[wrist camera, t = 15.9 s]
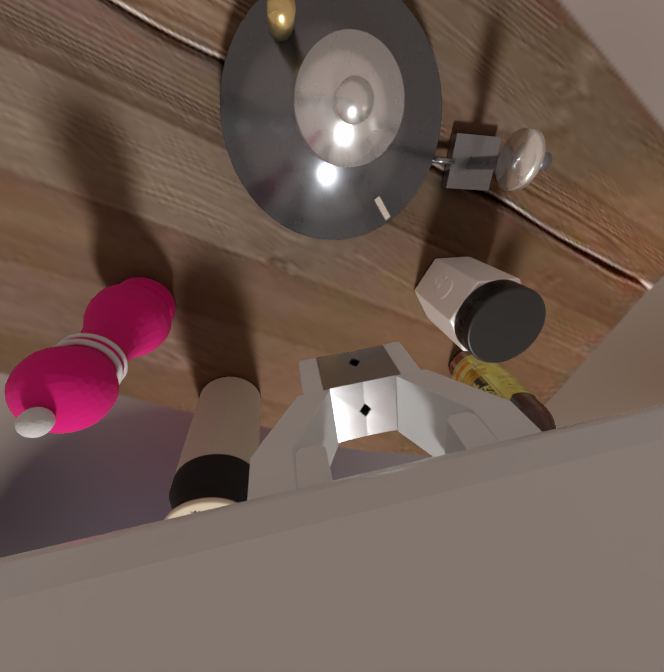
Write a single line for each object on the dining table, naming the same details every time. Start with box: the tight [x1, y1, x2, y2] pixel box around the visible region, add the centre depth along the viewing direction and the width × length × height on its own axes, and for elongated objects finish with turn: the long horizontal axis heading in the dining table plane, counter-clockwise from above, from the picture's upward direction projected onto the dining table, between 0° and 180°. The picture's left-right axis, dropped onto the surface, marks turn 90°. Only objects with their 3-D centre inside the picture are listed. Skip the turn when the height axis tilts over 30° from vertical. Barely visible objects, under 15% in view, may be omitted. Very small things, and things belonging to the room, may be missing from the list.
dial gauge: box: [432, 128, 552, 191], centre depth 29 cm, size 7×5×12 cm
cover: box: [292, 29, 405, 167], centre depth 26 cm, size 9×9×4 cm
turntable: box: [220, 0, 442, 240], centre depth 28 cm, size 20×20×5 cm
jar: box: [415, 257, 546, 363], centre depth 36 cm, size 9×8×12 cm
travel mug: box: [165, 377, 261, 520], centre depth 36 cm, size 8×8×18 cm
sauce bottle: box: [449, 351, 556, 432], centre depth 39 cm, size 6×6×20 cm
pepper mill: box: [5, 277, 176, 438], centre depth 27 cm, size 7×7×20 cm
